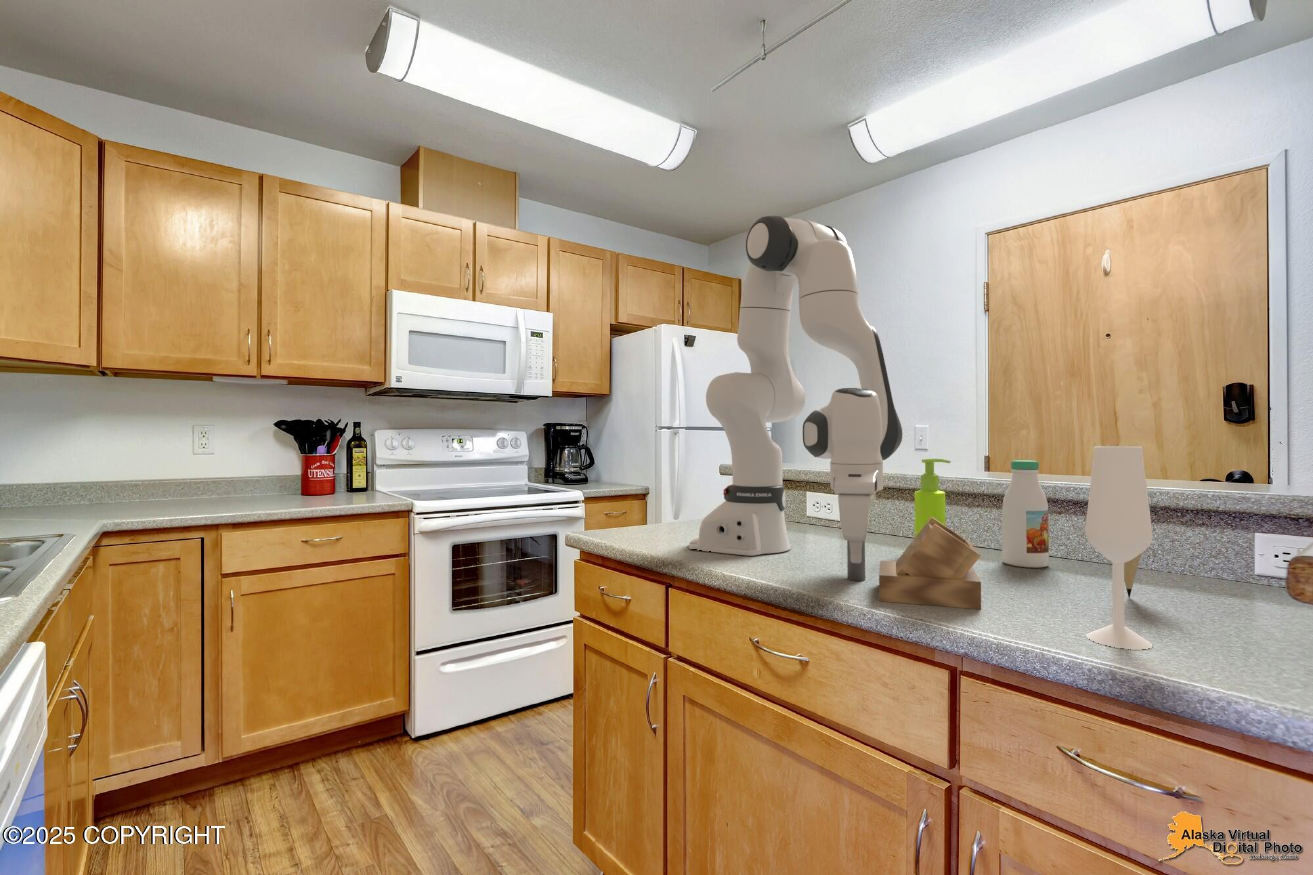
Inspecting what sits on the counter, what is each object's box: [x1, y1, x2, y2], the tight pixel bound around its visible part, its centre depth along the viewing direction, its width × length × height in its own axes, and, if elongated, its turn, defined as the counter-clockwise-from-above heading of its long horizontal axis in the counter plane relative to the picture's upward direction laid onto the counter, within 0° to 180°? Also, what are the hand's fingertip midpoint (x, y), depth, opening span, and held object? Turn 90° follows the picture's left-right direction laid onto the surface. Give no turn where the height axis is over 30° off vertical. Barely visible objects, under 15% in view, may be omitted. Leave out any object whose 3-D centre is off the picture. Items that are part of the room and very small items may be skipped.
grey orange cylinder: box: [846, 540, 866, 582], centre depth 110 cm, size 3×3×10 cm
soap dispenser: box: [914, 458, 952, 538], centre depth 130 cm, size 6×7×20 cm
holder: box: [878, 517, 982, 610], centre depth 98 cm, size 14×11×12 cm
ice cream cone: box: [1124, 524, 1153, 599], centre depth 96 cm, size 6×6×15 cm
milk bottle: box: [1001, 459, 1050, 569], centre depth 120 cm, size 8×8×20 cm
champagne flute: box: [1084, 445, 1154, 651], centre depth 77 cm, size 7×7×24 cm
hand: (857, 557), depth 110 cm, fingers open, 6 cm apart
